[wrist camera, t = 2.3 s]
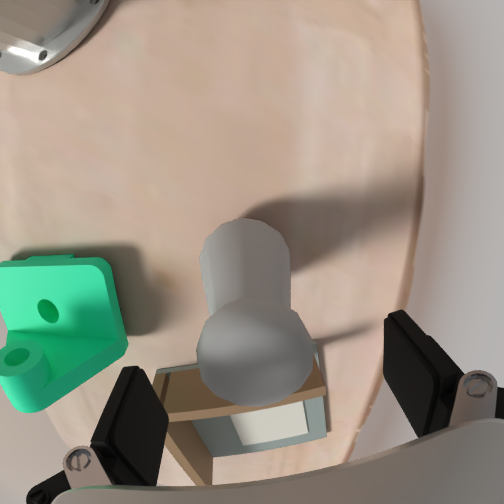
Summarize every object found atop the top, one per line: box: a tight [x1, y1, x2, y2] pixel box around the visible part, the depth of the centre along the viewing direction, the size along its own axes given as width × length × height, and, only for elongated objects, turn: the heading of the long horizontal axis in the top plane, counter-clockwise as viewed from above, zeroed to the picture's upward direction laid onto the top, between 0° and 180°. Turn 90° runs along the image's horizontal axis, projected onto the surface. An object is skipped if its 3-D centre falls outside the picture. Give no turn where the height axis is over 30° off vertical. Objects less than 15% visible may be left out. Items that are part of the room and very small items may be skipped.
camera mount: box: [0, 254, 129, 413], centre depth 18 cm, size 12×8×10 cm, turn 91°
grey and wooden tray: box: [152, 340, 327, 486], centre depth 25 cm, size 14×14×6 cm
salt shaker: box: [196, 218, 313, 407], centre depth 16 cm, size 6×6×13 cm
